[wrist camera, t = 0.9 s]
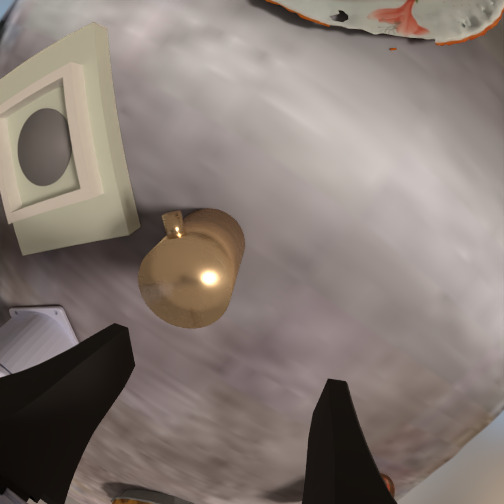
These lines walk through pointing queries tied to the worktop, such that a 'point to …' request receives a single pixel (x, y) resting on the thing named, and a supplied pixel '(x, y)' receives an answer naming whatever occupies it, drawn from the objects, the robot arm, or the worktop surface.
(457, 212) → the worktop surface
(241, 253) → the spout can
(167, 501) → the pie
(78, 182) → the cream peg hole base
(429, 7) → the food on plate
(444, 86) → the worktop surface
